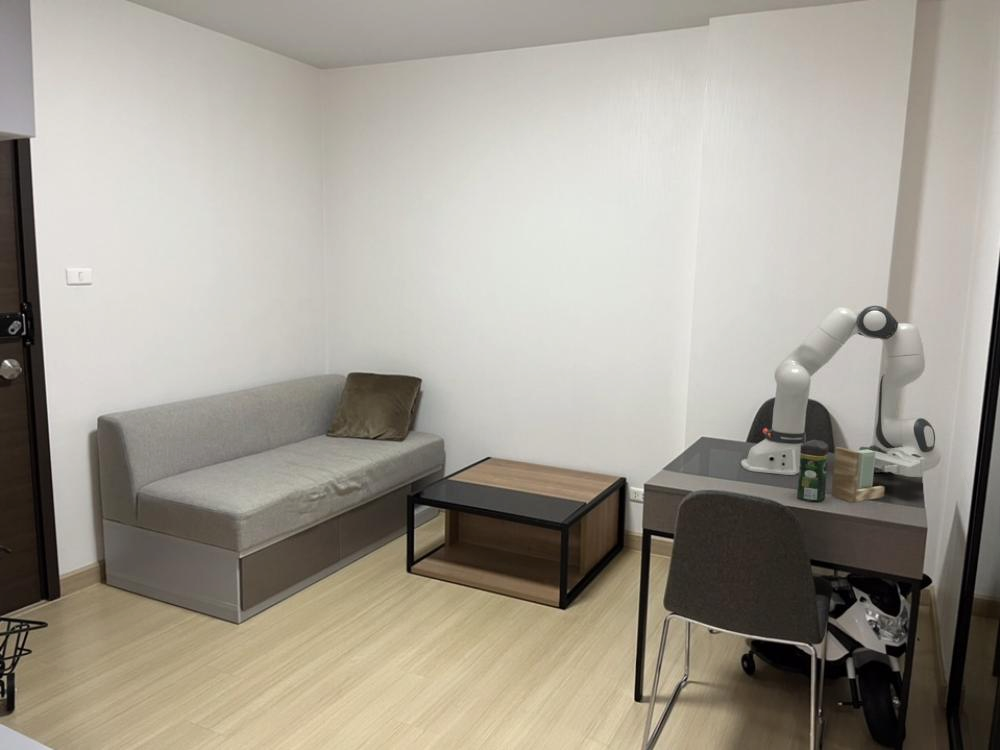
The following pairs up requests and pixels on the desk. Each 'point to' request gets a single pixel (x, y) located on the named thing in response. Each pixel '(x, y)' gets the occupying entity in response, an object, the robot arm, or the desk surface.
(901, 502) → the desk surface
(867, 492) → the track
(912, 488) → the desk surface
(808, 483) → the coffee jar
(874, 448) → the mineral rock
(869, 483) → the mint green rectangular block
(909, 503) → the desk surface
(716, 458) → the desk surface
